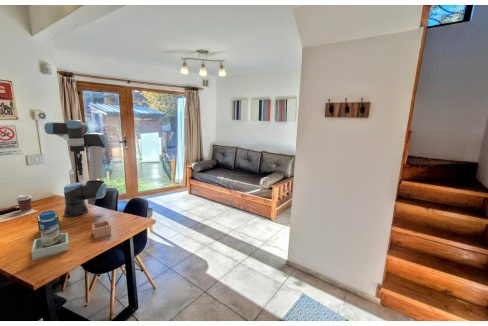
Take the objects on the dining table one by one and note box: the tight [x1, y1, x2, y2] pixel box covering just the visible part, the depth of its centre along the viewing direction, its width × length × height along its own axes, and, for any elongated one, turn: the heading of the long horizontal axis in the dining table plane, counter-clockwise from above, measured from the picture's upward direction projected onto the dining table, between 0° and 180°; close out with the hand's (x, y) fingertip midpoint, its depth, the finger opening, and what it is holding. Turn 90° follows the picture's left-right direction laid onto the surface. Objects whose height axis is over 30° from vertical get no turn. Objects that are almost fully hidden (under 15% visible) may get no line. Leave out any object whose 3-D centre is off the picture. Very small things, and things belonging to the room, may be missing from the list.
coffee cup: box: [15, 193, 33, 213], centre depth 180 cm, size 9×9×12 cm
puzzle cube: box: [36, 212, 61, 237], centre depth 149 cm, size 10×10×10 cm
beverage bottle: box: [38, 210, 61, 248], centre depth 129 cm, size 8×8×20 cm
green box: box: [31, 232, 70, 261], centre depth 129 cm, size 15×15×5 cm
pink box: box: [91, 219, 112, 239], centre depth 146 cm, size 9×9×7 cm
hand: (80, 177), depth 150 cm, fingers open, 13 cm apart
